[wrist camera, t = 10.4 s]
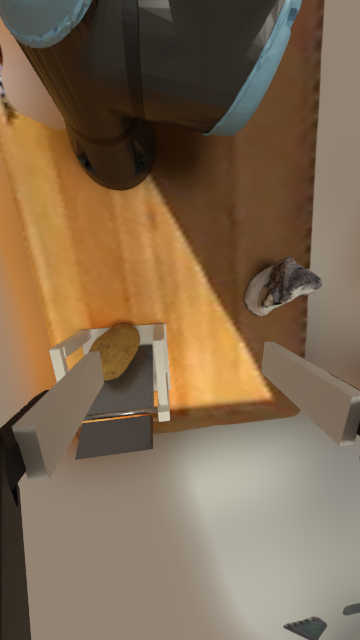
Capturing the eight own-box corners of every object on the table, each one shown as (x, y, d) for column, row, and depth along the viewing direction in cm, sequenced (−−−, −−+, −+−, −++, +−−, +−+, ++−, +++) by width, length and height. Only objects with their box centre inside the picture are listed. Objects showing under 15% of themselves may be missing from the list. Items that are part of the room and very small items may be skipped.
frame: (80, 329, 39) (37, 354, 26) (165, 323, 41) (166, 343, 28) (93, 396, 43) (61, 448, 30) (170, 387, 45) (173, 433, 32)
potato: (86, 376, 36) (65, 358, 31) (124, 333, 43) (112, 313, 39) (117, 392, 32) (98, 374, 27) (153, 342, 39) (144, 321, 35)
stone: (259, 322, 45) (265, 328, 31) (235, 294, 47) (230, 288, 33) (308, 287, 41) (341, 276, 27) (280, 258, 43) (297, 233, 29)
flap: (98, 355, 42) (92, 348, 39) (156, 350, 43) (155, 343, 40) (78, 459, 30) (67, 460, 27) (159, 447, 31) (157, 448, 28)
